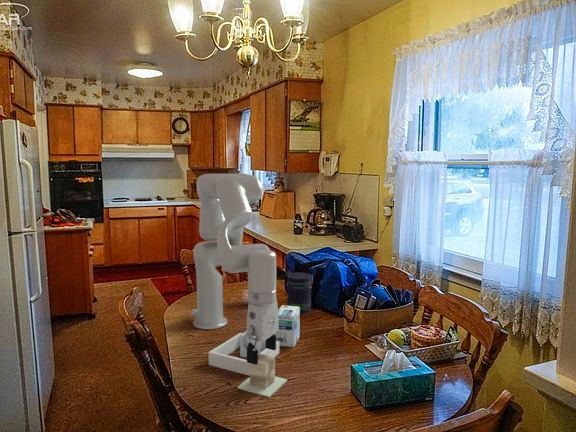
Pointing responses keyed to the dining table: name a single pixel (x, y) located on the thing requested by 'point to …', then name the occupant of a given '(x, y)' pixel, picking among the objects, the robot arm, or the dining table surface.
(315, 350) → the dining table surface
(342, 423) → the dining table surface
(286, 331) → the light bulb box
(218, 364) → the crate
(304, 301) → the storage jar
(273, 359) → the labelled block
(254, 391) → the mat
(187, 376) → the dining table surface
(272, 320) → the robot arm
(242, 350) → the plain block
